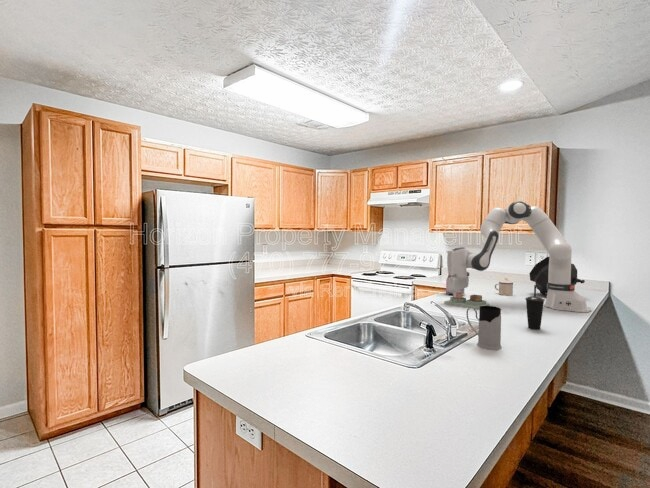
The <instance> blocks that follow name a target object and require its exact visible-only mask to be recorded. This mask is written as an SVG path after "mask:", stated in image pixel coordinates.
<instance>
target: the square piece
mask: <svg viewBox="0 0 650 488" xmlns="http://www.w3.org/2000/svg"><path fill="white" fill-rule="evenodd" d="M469 299H470V301H475V302H481V301H482V300H483V295H481V294H480V295H479V294H470V295H469Z"/></svg>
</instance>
